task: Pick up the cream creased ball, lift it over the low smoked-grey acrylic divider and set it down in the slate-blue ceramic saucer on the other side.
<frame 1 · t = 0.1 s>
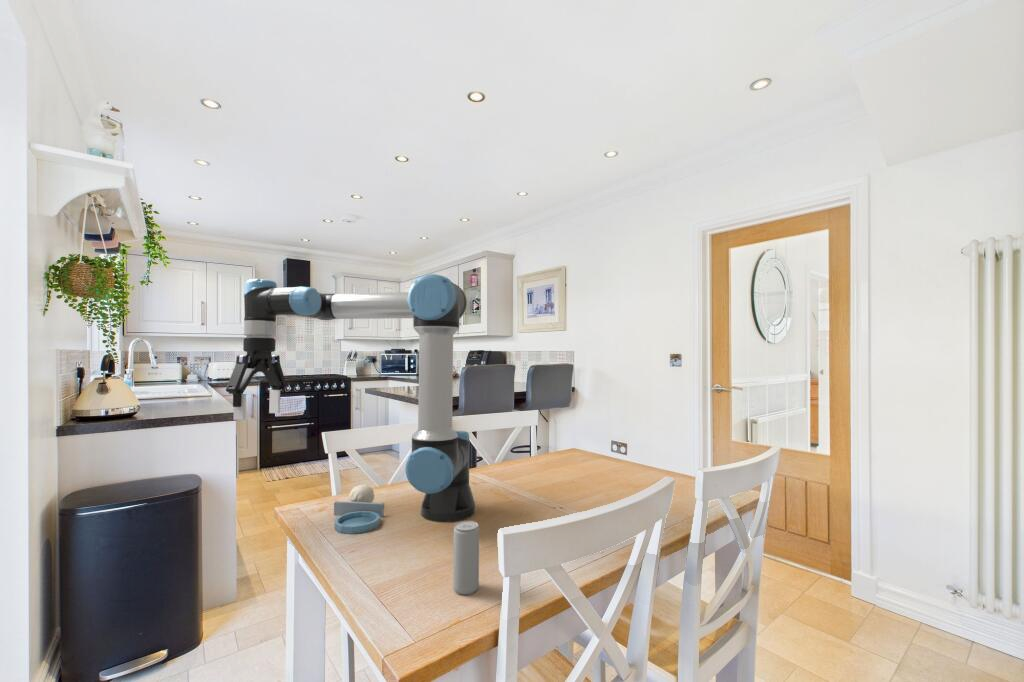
hand: (257, 416, 119), 28 cm above the table, fingers open, 13 cm apart
beverage can: (465, 590, 84), on the table
cream creased ball: (360, 509, 128), on the table
saucer: (357, 525, 115), on the table
divider: (358, 515, 123), on the table
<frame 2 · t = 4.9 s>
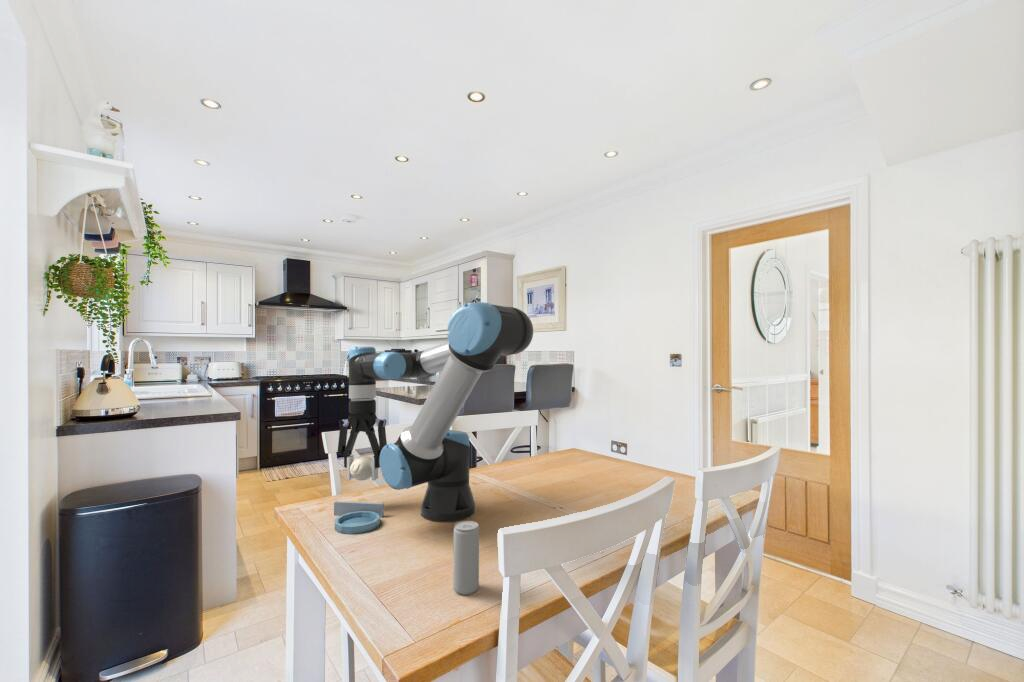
hand: (362, 479, 128), 9 cm above the table, fingers closed on cream creased ball, 7 cm apart
cream creased ball: (362, 480, 128), point 8 cm above the table, touching gripper
everything else where it was.
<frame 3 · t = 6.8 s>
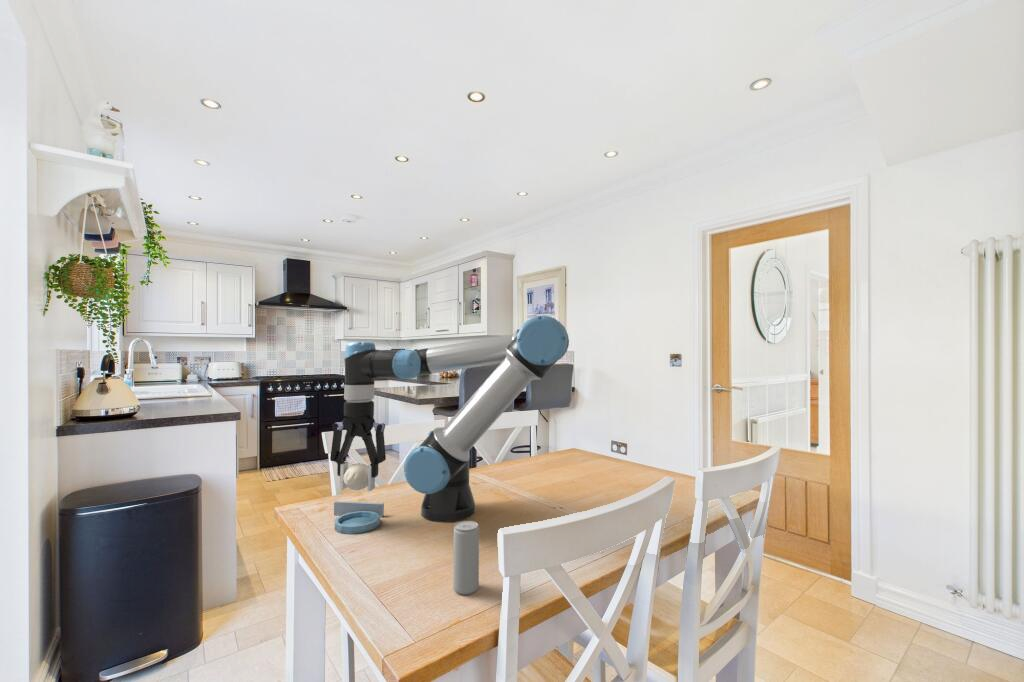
hand: (357, 488, 116), 9 cm above the table, fingers closed on cream creased ball, 7 cm apart
cream creased ball: (357, 490, 116), point 9 cm above the table, touching gripper
everything else where it was.
when the fingers open (2 cm above the table, at t = 8.8 s): cream creased ball drops 1 cm, resting on saucer.
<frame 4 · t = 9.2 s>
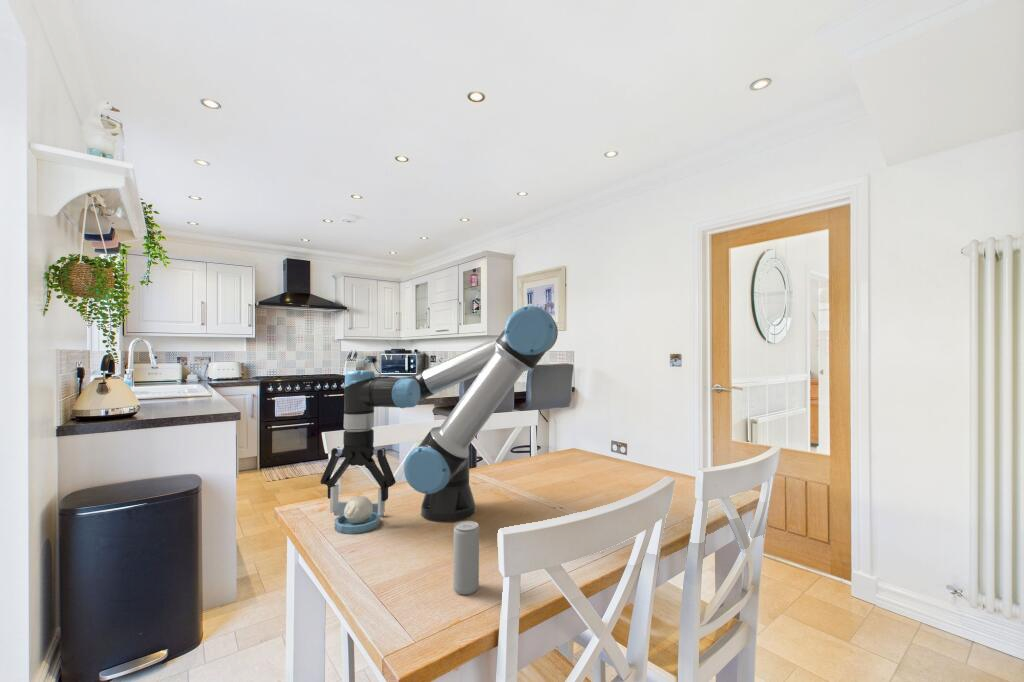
hand: (357, 512, 115), 3 cm above the table, fingers open, 12 cm apart
cream creased ball: (357, 523, 115), resting on saucer
everything else where it was.
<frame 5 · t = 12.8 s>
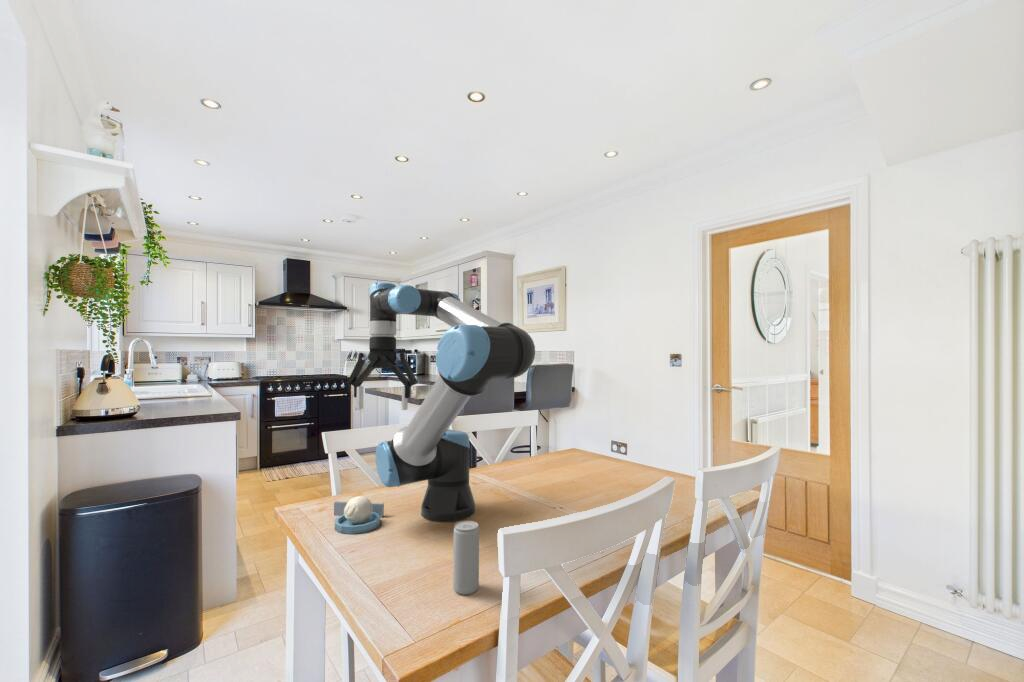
hand: (382, 409, 129), 29 cm above the table, fingers open, 13 cm apart
nothing on the table moved.
at the end: cream creased ball 0.1 cm from the saucer (horizontally); cream creased ball resting on saucer; the gripper is holding nothing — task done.
